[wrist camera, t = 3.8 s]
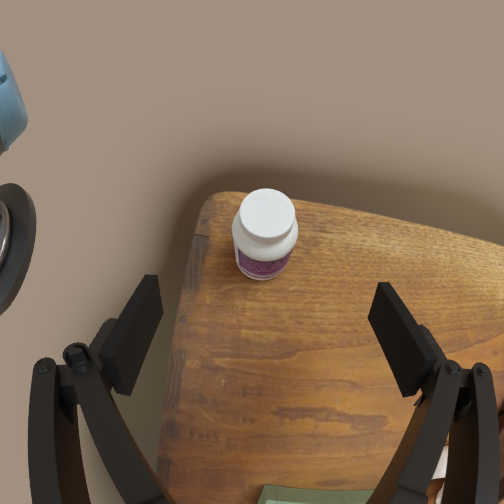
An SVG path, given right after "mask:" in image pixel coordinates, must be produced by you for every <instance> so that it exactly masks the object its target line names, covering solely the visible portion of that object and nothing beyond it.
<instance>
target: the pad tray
mask: <svg viewBox="0 0 504 504" xmlns="http://www.w3.org/2000/svg"><path fill="white" fill-rule="evenodd" d="M373 492H374V490H352V491H337V490H312V489H299V488H289V487H281V486H274V485H267V484H265V485H264V488H263V490H262V493H261V496H260V498H259V501H258V503H257V504H365V503H366V502H367V501H368V500H369V498H370V497H371V495H372V493H373Z"/></svg>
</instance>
